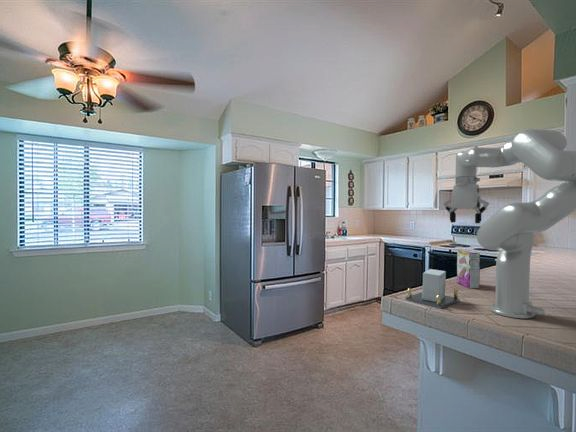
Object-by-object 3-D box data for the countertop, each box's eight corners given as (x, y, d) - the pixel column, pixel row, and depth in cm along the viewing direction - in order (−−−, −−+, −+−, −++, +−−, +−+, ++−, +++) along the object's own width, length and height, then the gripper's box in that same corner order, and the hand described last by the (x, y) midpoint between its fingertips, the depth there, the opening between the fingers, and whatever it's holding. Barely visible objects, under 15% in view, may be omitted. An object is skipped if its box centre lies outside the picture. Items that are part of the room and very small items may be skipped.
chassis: (459, 301, 122) (460, 289, 122) (440, 308, 113) (440, 296, 112) (425, 293, 133) (425, 282, 133) (405, 299, 124) (405, 288, 124)
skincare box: (439, 303, 116) (440, 275, 116) (421, 299, 120) (422, 272, 120) (446, 296, 124) (446, 270, 124) (428, 293, 128) (429, 268, 128)
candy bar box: (456, 282, 152) (456, 249, 151) (466, 282, 152) (467, 249, 151) (468, 288, 141) (469, 252, 140) (480, 288, 140) (480, 252, 140)
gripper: (492, 180, 125) (492, 223, 125) (448, 183, 138) (448, 221, 139) (485, 179, 120) (484, 224, 120) (440, 182, 134) (439, 222, 134)
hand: (465, 222), depth 130 cm, fingers open, 9 cm apart
